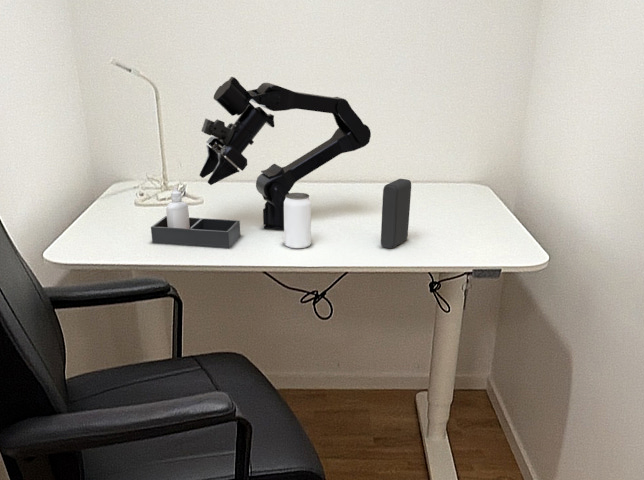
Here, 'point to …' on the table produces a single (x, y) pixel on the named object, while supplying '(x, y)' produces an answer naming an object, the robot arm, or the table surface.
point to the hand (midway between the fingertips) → (204, 180)
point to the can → (297, 220)
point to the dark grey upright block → (395, 212)
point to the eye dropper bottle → (177, 211)
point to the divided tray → (198, 233)
